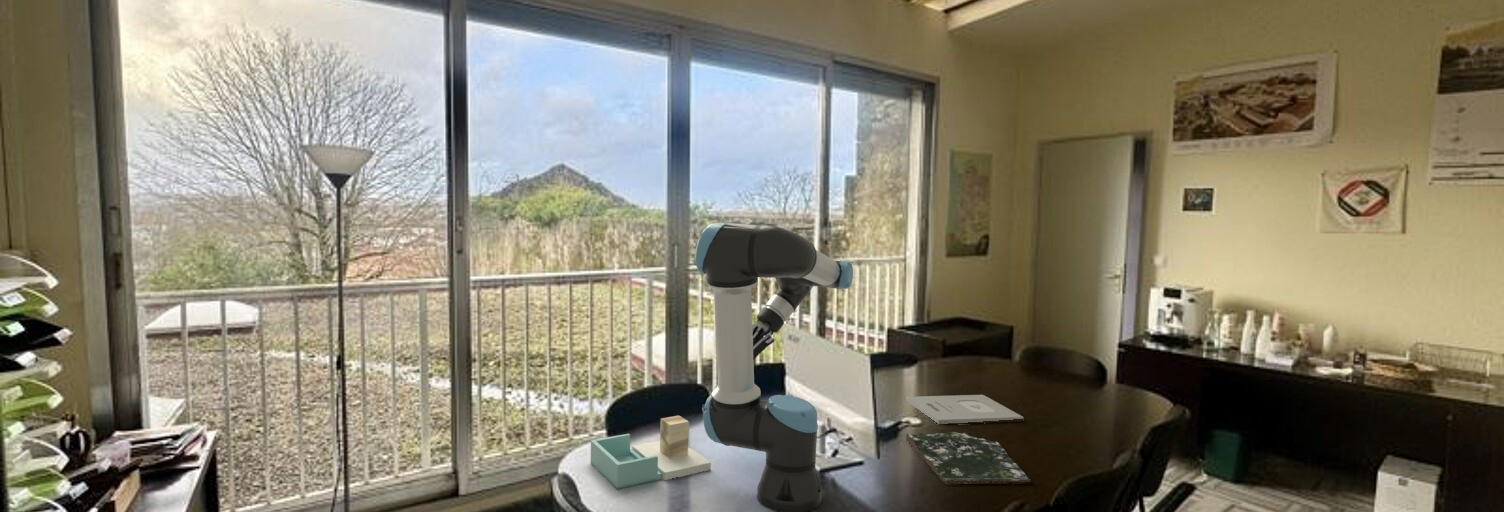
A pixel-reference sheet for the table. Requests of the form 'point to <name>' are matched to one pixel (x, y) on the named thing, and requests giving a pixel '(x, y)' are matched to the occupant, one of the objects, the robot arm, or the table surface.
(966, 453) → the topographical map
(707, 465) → the cream board
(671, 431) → the maple block
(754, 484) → the table surface
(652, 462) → the box
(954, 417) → the award plaque
